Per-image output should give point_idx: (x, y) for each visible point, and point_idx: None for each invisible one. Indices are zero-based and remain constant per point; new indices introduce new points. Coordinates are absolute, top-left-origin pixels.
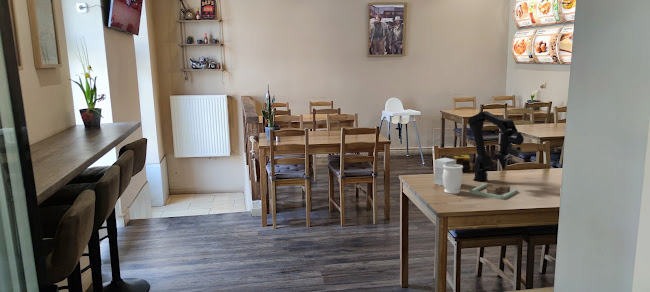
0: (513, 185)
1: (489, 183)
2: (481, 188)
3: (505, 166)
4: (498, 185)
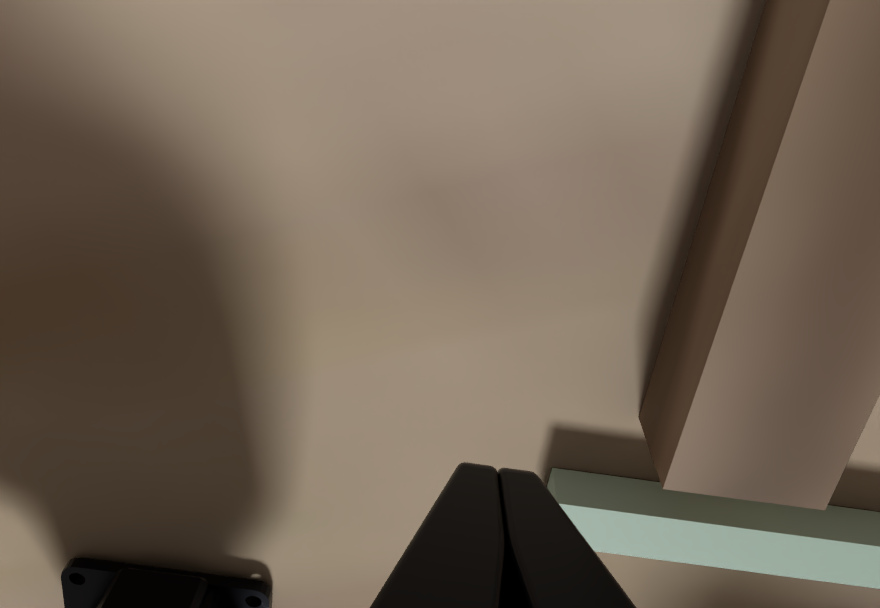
0: (100, 17)
1: (710, 476)
2: (809, 512)
3: (539, 558)
4: (835, 269)
